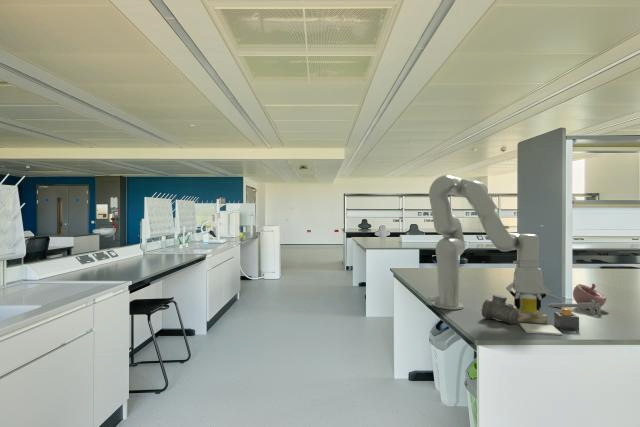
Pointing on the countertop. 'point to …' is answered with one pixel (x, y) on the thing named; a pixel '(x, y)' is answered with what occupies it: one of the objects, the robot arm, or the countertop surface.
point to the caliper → (581, 306)
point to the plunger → (566, 312)
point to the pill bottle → (528, 303)
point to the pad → (540, 329)
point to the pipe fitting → (499, 310)
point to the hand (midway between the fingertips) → (527, 308)
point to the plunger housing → (566, 321)
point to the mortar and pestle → (588, 295)
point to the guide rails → (532, 317)
